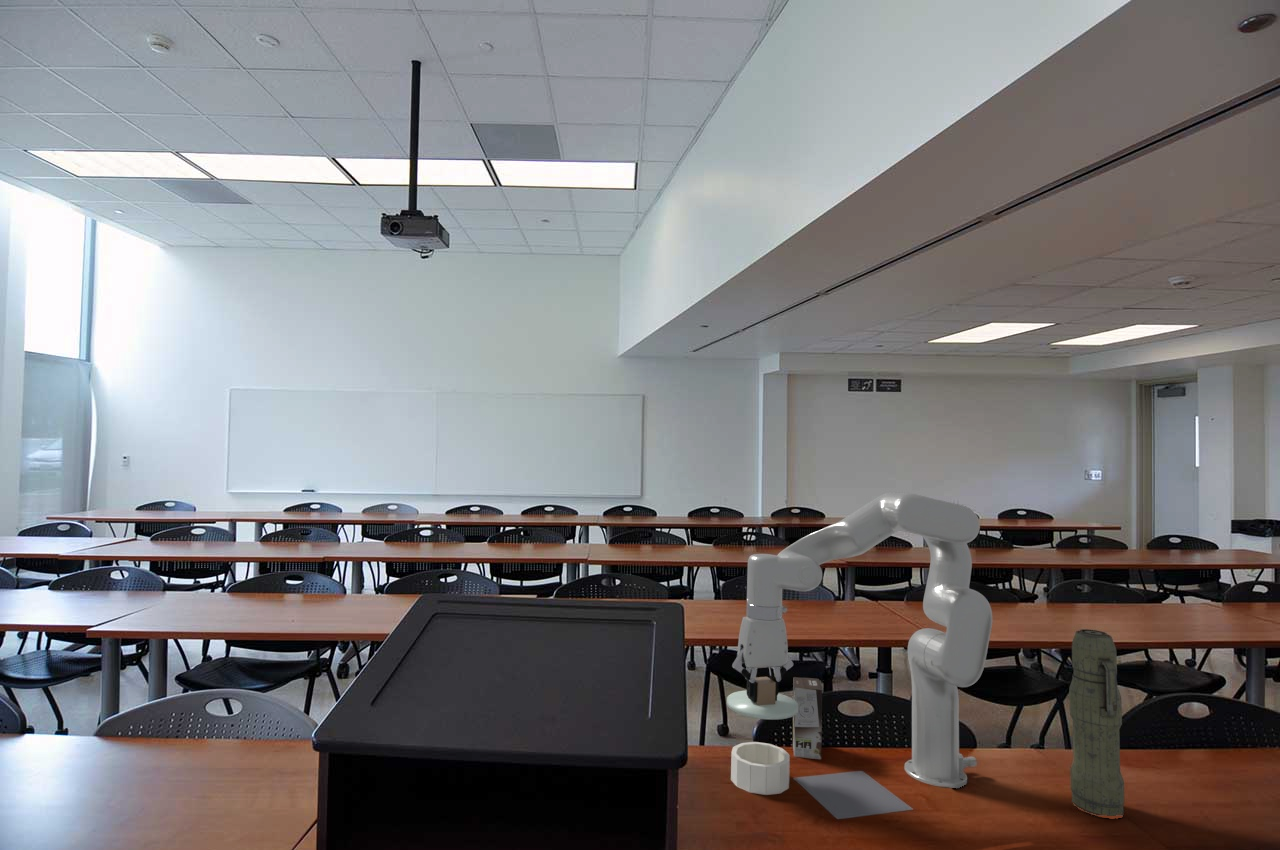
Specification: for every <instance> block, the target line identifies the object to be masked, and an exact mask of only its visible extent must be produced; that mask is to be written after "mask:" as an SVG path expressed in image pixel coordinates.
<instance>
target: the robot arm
mask: <svg viewBox="0 0 1280 850" xmlns="http://www.w3.org/2000/svg"><path fill="white" fill-rule="evenodd" d="M980 528H981V523H980V519H979V516H978V515H977V513H975V511H974V510H972V509H971V508H970V507H968V506H967V505H963V504H959V503H954V502H951V501H950V502H949V501H946V500H941V499H936V498H933V497H929V496H926V495H925V496H924V495H920V494H918V493H917V494H916V493H910V492H897V491H894V492H893V491H889V492H886V493H882V494H880V495H879V496H877V497H876V498H874V499H872V500H871V501H869V502H868V503H865V504H864V505H863V506H862V507H860V508H858V509H856V510H855V511H853V512H852V513H850V514H849V515H847V516H845V517H844V518H843V519H841V520H839V521H837V522H835V523H833V524H829V525H828V526H825V527H823V528H822V529H819V530H817V531H814V532H811V533H810V534H807V535H805V536H804V537H801V538H799V539H798V540H796V541H795V542H793V543H792V544H790V545H789V546H787V547H785V548H784V549H783V550H781V551H780V552H779V553H778V554H777V555H776V554H770V553H754V554H751V555H749V557H748V559H747V577H746V581H747V582H746V583H747V584H746V615H745V616H742V620H741V624H740V627H739V634H738V643H737V653H736V658H735V659H734V661H733V662H732V665H731V667H732V668H733V669H734V670H736V671H737V672H739V673H740V674H741V675H742V676H743V677H744V678H745V680H746V690H747V696H748V698H749V699H750V700H751V701H753V702H756V701H757V683H756V682H755V679H756V677H757V674H758V669H764V668H765V669H766V668H768V669H769V677H768V676H767V677H768V678H770V679H771V680H773V681H774V682H776V689H775V701H777V695H778V693H779V683H780V682H781V680H782V677H783V676H784V675H785V673H786V672H787V671H788V670H790V669H791V668H792V667H793V666H794V662H793V661H792V659H791V657H790V655H789V654H788V653H789V652H788V651H789V649H788V648H789V645H788V634H787V628H786V623H785V619H784V618H783V614H785V613H787V612H788V607H787V606H784V605H783V590H791V591H795V592H796V591H797V592H810V591H812V590H815V589H816V588H817V587H819V585H820V584H821V582H822V580H823V570H822V568H821V566H820V565H823V564H825V563H827V562H831V561H834V560H839V559H847V558H848V559H849V558H853V557H857V556H861V555H863V554H865V553H866V552H868V551H870V550H871V549H872V548H875V546H876V545H877V546H878V544H880V543H881V542H883V541H884V540H886V539H888V538H889V537H891V536H893V535H894V534H895V533H897V532H904V533H909V534H913V535H917V536H921V537H922V538H923V539H924V541H925V543H926V545H927V547H928V549H929V552H930V553H929V554H930V563H929V564H930V565H929V571H928V576H927V581H926V585H925V590H924V595H923V600H922V601H923V602H922V609H923V612H924V615H925V616H926V617H927V618H928V619H929V620H930V621H933V623H936V624H938V625H941V626H943V627H945V628H946V631H945V632H944V631H942V630H939V629H936V628H928V627H926V628H924V627H923V628H922V629H918V630H917V631H915V632H913V634H912V635H911V637H910V638H909V640H908V644H907V659H908V663H909V669H910V676H911V677H910V679H911V759H908V760H907V761H906V762H905V763H904V771H905V772H906V774H907V775H908V776H910V777H911V778H913V779H915V780H916V781H919V782H921V783H924V784H927V785H931V786H935V787H941V788H949V789H951V788H956V789H961V788H962V786H963V787H964V785H967V783H968V776H967V774H966V773H965V771H964V770H965V769H966V768H967V767H969V768H971V767H977V765H978V761H977V758H976V757H974V756H966V757H964V755H963V754H962V753H960V725H959V724H960V721H959V720H960V715H959V714H960V713H959V711H960V701H959V690H958V687H959V688H968V687H971V686H972V685H974V684H975V683H977V682H978V680H979V679H980V678H981V676H982V674H983V671H984V668H985V665H986V664H985V663H986V660H987V654H988V648H989V643H990V637H991V633H992V627H993V612H992V611H993V610H992V607H991V604H990V603H989V601H988V599H987V598H986V596H984V595H983V594H982V593H980V592H979V591H977V590H975V589H972V588H970V582H971V576H972V567H973V562H972V561H973V559H972V553H971V550H970V548H969V545H968V543H971V542H973V540H975V539H976V538H977V536H978V534H980V533H979V532H980ZM743 664H744V665H745V667H746V668H745V667H743V666H742V665H743ZM960 787H961V788H960Z"/></svg>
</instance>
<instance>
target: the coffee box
mask: <svg viewBox="0 0 1280 850" xmlns="http://www.w3.org/2000/svg"><path fill="white" fill-rule="evenodd" d="M792 685H793V687H792V693H793V694H792V696H793V698H792V699H794V700H795V701H796V702H797V703H798V713H797V714H796V715H795V716H793V717H792V749H793V757H797V758H805V759H813V760H814V759H815V760H822V737H823V736H822V732H823V731H822V730H823V729H822V725H823V722H822V721H823V720H822V719H823V714H822V713H823V712H822V711H823V687H822V685H821V680H820V679H819V678H812V677H796V676H794V677H793V683H792Z"/></svg>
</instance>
